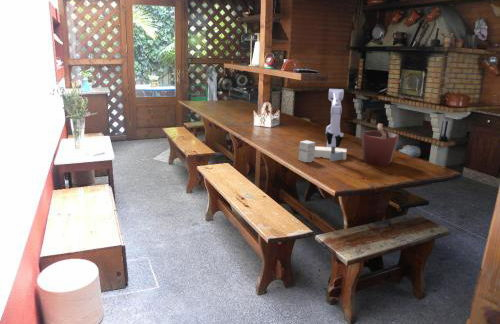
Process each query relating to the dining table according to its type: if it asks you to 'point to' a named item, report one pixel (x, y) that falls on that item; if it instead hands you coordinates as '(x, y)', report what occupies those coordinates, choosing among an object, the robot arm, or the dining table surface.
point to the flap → (335, 155)
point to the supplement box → (306, 151)
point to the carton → (328, 152)
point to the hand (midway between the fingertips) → (333, 145)
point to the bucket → (378, 146)
